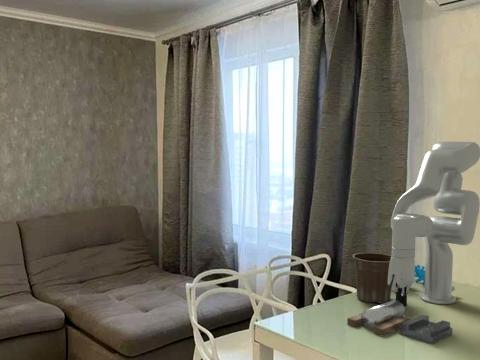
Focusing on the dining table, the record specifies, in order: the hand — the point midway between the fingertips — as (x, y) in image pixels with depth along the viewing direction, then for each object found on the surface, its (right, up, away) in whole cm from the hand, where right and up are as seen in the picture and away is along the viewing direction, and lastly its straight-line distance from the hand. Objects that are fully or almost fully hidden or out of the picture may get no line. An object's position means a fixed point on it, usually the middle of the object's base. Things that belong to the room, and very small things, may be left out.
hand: (401, 306), depth 171 cm
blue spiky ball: (+23, -1, +40) cm, 46 cm away
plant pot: (-4, -2, +19) cm, 20 cm away
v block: (+2, -4, -16) cm, 17 cm away
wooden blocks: (-10, -4, -8) cm, 13 cm away
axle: (-8, -4, -7) cm, 11 cm away
